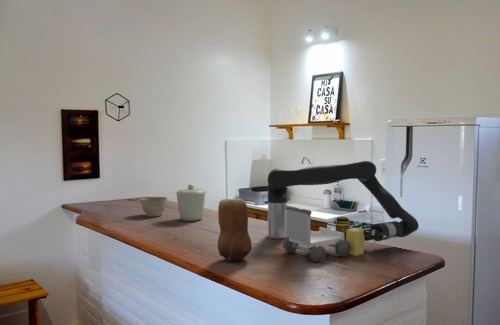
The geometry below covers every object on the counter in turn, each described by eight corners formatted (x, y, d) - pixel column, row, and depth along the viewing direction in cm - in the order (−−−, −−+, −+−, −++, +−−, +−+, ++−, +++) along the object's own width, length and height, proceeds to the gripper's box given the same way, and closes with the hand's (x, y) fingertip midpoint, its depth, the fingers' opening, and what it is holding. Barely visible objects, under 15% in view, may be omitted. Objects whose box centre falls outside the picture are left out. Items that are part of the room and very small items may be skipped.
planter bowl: (172, 214, 274) (172, 197, 273) (154, 219, 260) (154, 201, 260) (154, 212, 282) (153, 195, 282) (135, 216, 269) (135, 199, 268)
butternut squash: (233, 253, 182) (232, 194, 181) (258, 259, 174) (258, 197, 172) (210, 261, 172) (209, 198, 170) (235, 267, 163) (234, 201, 162)
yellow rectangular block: (355, 255, 178) (355, 231, 178) (346, 253, 183) (346, 229, 182) (363, 253, 181) (363, 230, 180) (354, 251, 185) (354, 228, 185)
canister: (172, 218, 262) (171, 183, 261) (201, 215, 270) (200, 182, 268) (180, 223, 246) (180, 186, 244) (210, 221, 253) (210, 185, 252)
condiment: (347, 246, 194) (347, 219, 193) (329, 244, 198) (329, 218, 197) (351, 242, 200) (352, 217, 199) (334, 240, 204) (334, 215, 204)
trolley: (312, 264, 167) (312, 211, 166) (281, 253, 183) (281, 205, 182) (350, 255, 179) (351, 206, 177) (318, 245, 195) (319, 200, 193)
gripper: (370, 220, 196) (344, 224, 188) (396, 225, 184) (370, 230, 176) (370, 236, 197) (344, 241, 188) (396, 243, 185) (370, 248, 176)
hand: (357, 236), depth 182 cm, fingers open, 8 cm apart
